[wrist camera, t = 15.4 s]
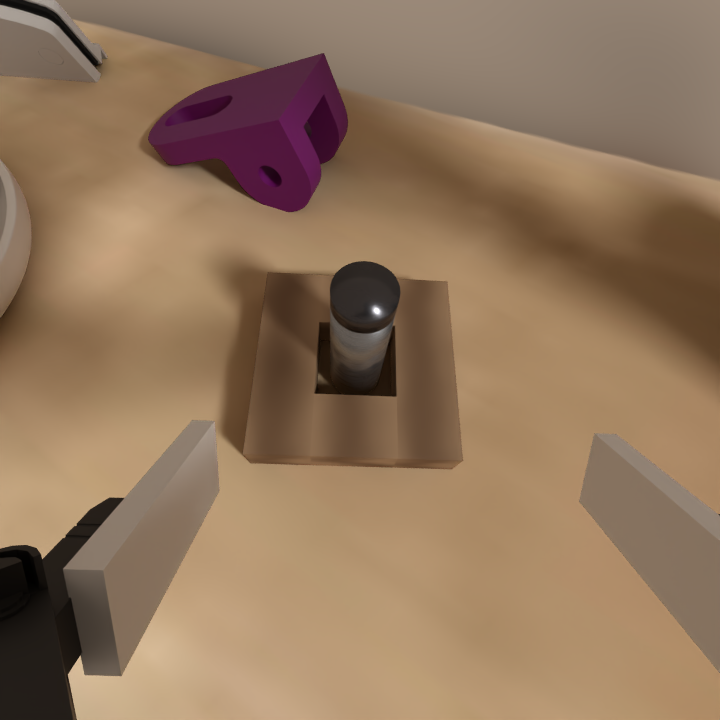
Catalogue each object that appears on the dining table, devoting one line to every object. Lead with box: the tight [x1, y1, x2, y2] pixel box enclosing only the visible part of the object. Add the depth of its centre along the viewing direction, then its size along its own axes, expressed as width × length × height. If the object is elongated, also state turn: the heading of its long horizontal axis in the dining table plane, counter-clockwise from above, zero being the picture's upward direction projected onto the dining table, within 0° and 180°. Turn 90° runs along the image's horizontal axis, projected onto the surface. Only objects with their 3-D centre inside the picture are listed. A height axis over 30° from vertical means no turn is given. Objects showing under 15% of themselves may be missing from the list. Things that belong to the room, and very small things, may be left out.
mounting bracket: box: [148, 53, 348, 212], centre depth 43 cm, size 10×9×19 cm
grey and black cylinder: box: [330, 261, 401, 396], centre depth 29 cm, size 4×4×12 cm
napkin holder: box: [0, 0, 108, 82], centre depth 45 cm, size 17×5×10 cm, turn 89°
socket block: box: [243, 272, 463, 469], centre depth 33 cm, size 15×15×3 cm
